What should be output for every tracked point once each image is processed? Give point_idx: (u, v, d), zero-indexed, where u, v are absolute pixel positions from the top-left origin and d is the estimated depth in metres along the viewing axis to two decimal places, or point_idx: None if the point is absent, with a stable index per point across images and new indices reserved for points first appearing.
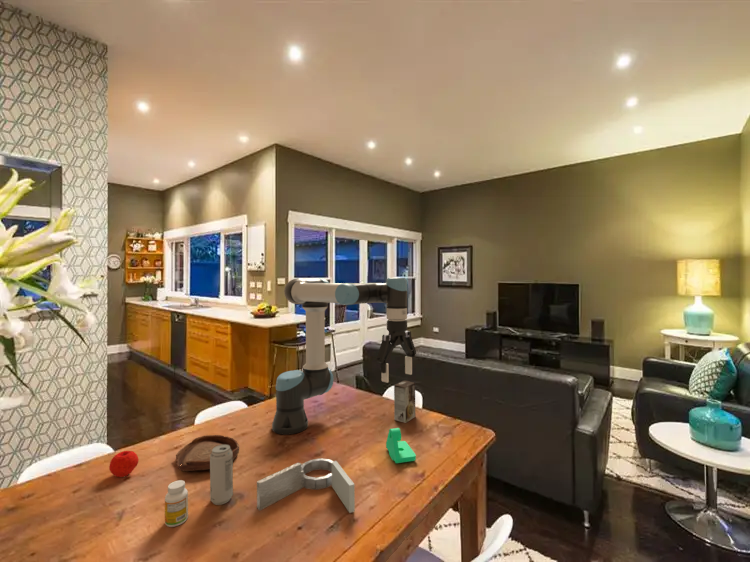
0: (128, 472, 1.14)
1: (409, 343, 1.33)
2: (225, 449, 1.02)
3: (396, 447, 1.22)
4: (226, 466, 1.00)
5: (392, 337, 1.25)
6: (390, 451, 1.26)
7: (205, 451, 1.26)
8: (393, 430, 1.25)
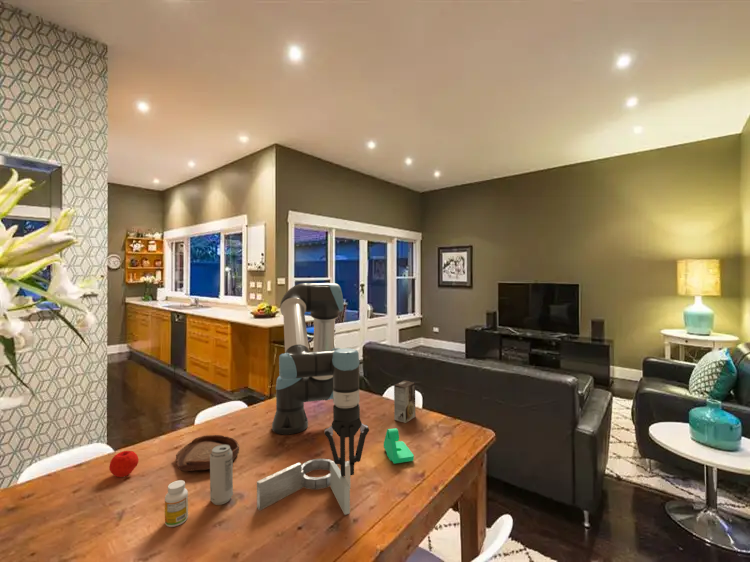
0: (128, 472, 1.14)
1: (359, 442, 1.00)
2: (225, 449, 1.02)
3: (394, 447, 1.22)
4: (226, 466, 1.00)
5: (334, 428, 0.99)
6: (388, 451, 1.26)
7: (205, 451, 1.26)
8: (391, 430, 1.25)
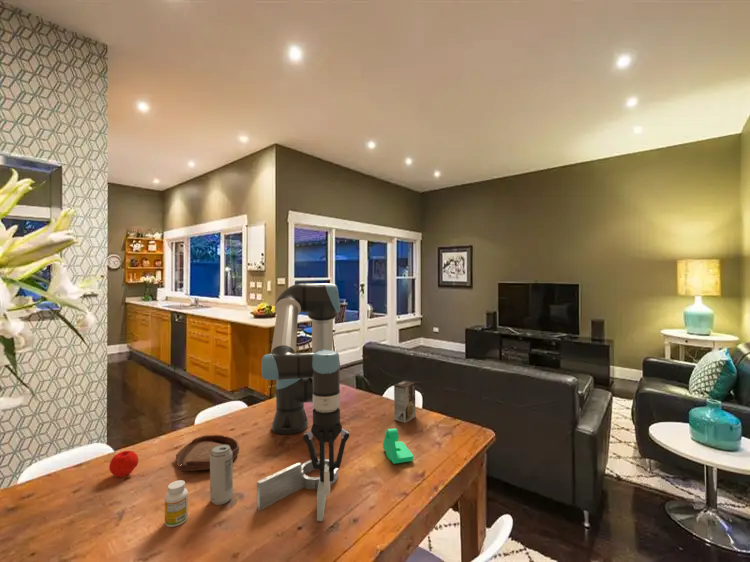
0: (128, 472, 1.14)
1: (339, 448, 0.97)
2: (225, 449, 1.02)
3: (393, 447, 1.22)
4: (226, 466, 1.00)
5: (313, 432, 0.96)
6: (387, 452, 1.26)
7: (205, 451, 1.26)
8: (390, 430, 1.25)
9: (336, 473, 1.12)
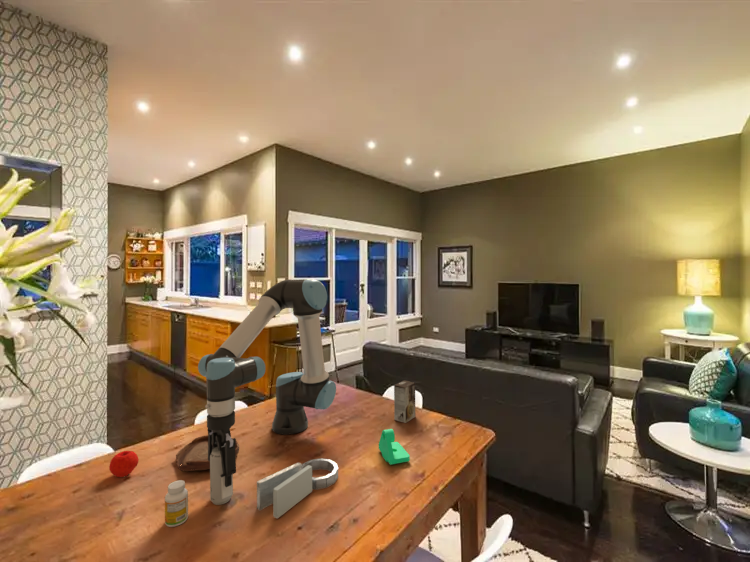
0: (128, 472, 1.14)
1: None
2: None
3: (390, 448, 1.21)
4: None
5: (212, 430, 1.04)
6: (383, 452, 1.25)
7: (205, 451, 1.26)
8: (386, 431, 1.25)
9: (336, 473, 1.12)
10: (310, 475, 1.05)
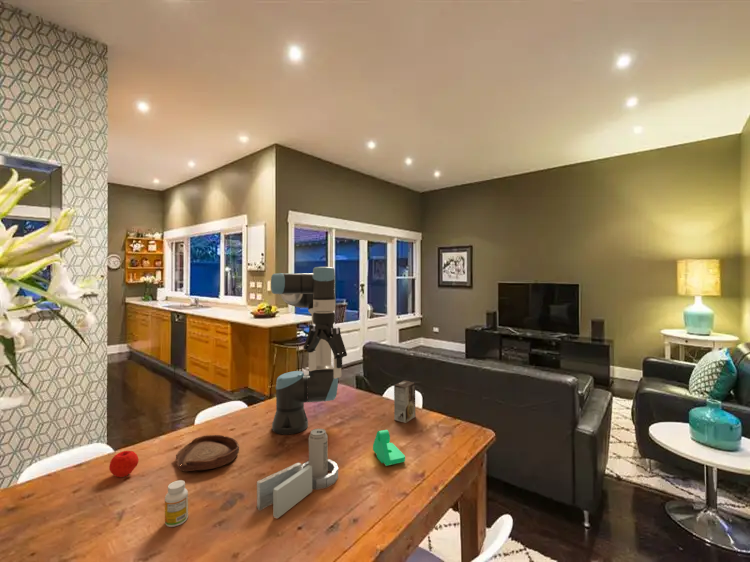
0: (128, 472, 1.14)
1: None
2: (322, 432, 1.13)
3: (385, 449, 1.21)
4: (324, 448, 1.11)
5: (315, 328, 1.22)
6: (378, 454, 1.25)
7: (205, 451, 1.26)
8: (382, 432, 1.24)
9: (336, 473, 1.12)
10: (310, 475, 1.05)
